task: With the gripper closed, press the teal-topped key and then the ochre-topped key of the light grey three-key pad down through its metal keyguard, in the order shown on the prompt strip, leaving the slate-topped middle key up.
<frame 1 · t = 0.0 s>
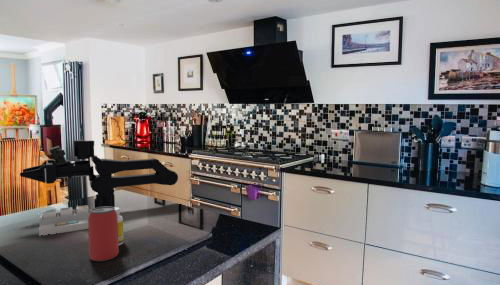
hand: (21, 172, 111), 17 cm above the counter, tool horizontal, fingers open, 9 cm apart
beer can: (104, 257, 82), on the counter
key mid: (66, 211, 106), point 5 cm above the counter, slide at 0.0 cm
supplement bottle: (113, 245, 90), on the counter
key 1: (49, 213, 104), point 5 cm above the counter, slide at 0.0 cm
key 2: (82, 209, 109), point 5 cm above the counter, slide at 0.0 cm
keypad: (66, 225, 107), on the counter
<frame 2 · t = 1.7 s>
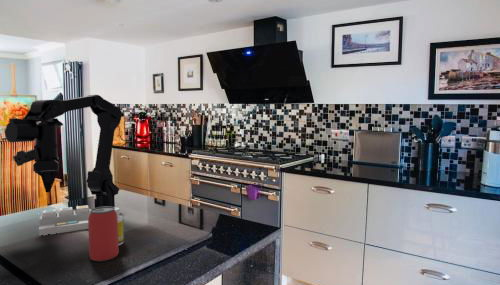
hand: (48, 190, 104), 12 cm above the counter, tool pointing down, fingers open, 6 cm apart
nothing on the counter moved.
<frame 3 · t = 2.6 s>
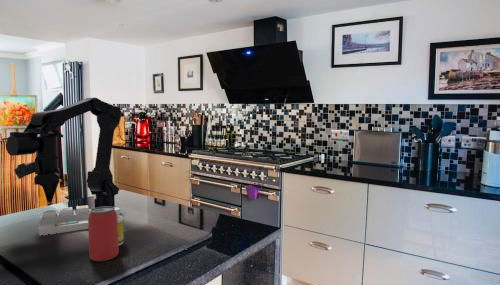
hand: (49, 202, 104), 8 cm above the counter, tool pointing down, fingers closed
nothing on the counter moved.
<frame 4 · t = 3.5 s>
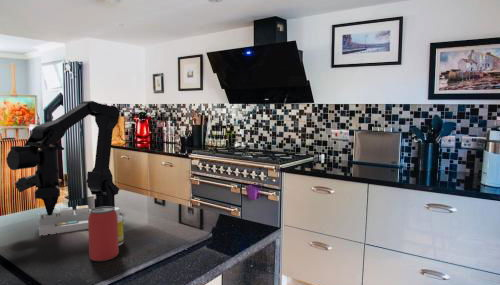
hand: (49, 214, 104), 4 cm above the counter, tool pointing down, fingers closed, pressing on key 1
key 1: (49, 217, 104), point 3 cm above the counter, slide at -1.3 cm, touching gripper
everything else where it was.
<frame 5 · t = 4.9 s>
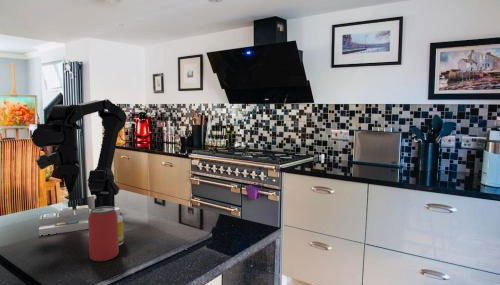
hand: (69, 192, 107), 11 cm above the counter, tool pointing down, fingers closed
key 1: (49, 218, 104), point 3 cm above the counter, slide at -1.4 cm
everything else where it was.
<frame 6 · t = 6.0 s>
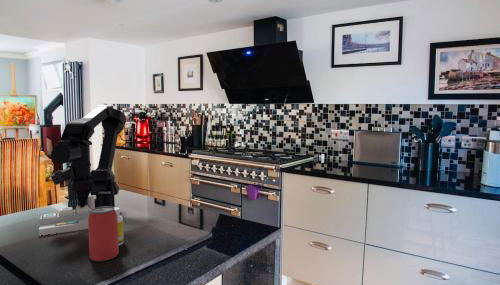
hand: (82, 207, 109), 5 cm above the counter, tool pointing down, fingers closed, pressing on key 2
key 2: (82, 210, 109), point 4 cm above the counter, slide at -0.1 cm, touching gripper
everything else where it was.
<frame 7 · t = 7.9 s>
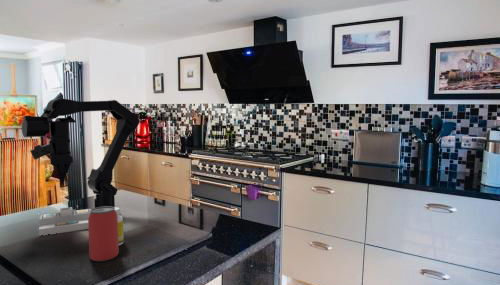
hand: (61, 182, 112), 13 cm above the counter, tool pointing down, fingers closed
key 2: (82, 214, 109), point 3 cm above the counter, slide at -1.4 cm
everything else where it was.
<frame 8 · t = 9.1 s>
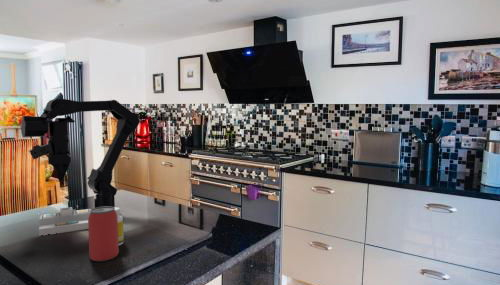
hand: (61, 181, 113), 13 cm above the counter, tool pointing down, fingers closed
nothing on the counter moved.
at the end: key 1 slide at -1.4 cm; key 2 slide at -1.4 cm; key mid slide at 0.0 cm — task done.
